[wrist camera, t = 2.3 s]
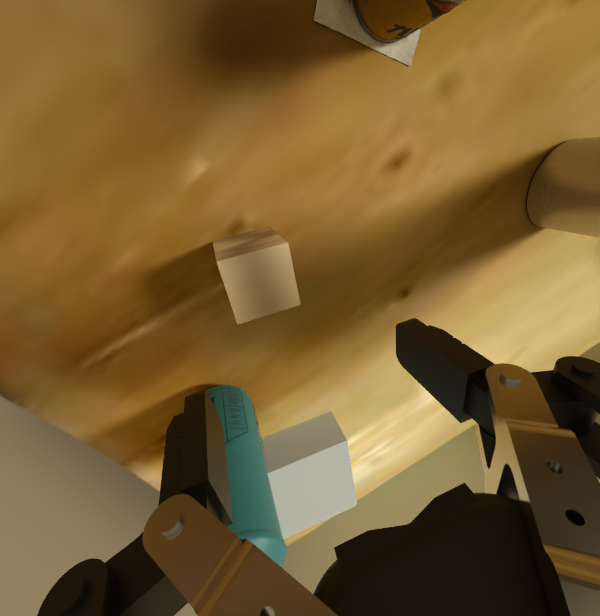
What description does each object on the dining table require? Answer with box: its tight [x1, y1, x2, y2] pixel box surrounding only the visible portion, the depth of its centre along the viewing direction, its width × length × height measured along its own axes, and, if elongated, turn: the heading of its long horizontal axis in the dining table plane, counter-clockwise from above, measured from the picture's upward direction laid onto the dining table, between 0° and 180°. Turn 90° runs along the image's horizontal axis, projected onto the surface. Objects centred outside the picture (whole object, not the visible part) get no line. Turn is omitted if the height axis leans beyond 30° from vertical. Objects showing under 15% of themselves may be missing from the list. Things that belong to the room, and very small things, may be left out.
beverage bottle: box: [207, 385, 286, 567], centre depth 23 cm, size 6×7×20 cm
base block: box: [260, 412, 357, 540], centre depth 38 cm, size 14×14×5 cm
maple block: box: [212, 227, 301, 324], centre depth 23 cm, size 5×5×6 cm
